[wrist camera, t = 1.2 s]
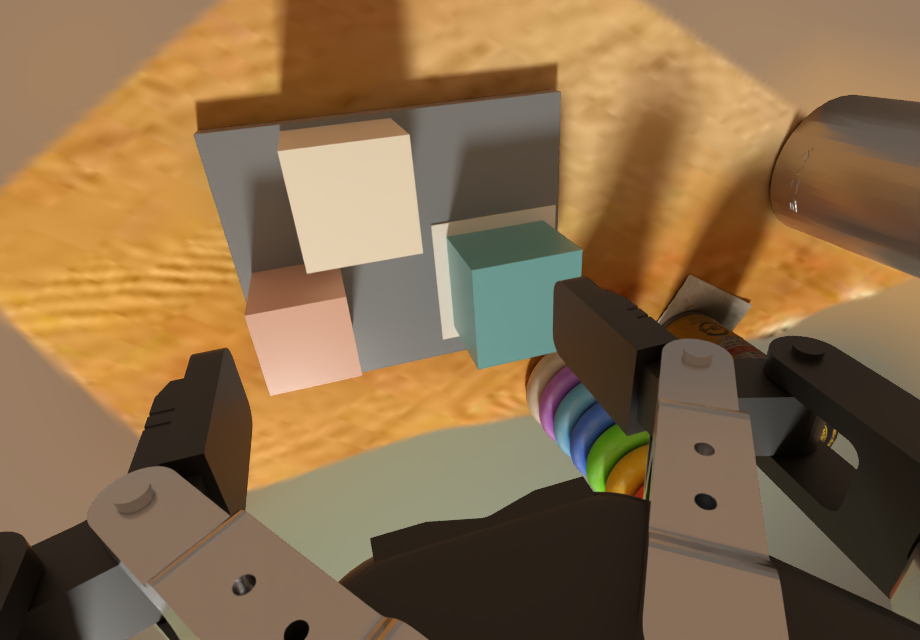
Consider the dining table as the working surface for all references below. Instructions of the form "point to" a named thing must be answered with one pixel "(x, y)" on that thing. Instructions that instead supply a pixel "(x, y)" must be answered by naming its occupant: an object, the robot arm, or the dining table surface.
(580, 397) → the stacking toy
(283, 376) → the pink cube
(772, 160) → the dining table surface
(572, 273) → the teal base brick
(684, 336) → the condiment
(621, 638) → the robot arm
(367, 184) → the cream brick
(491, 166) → the baseplate
